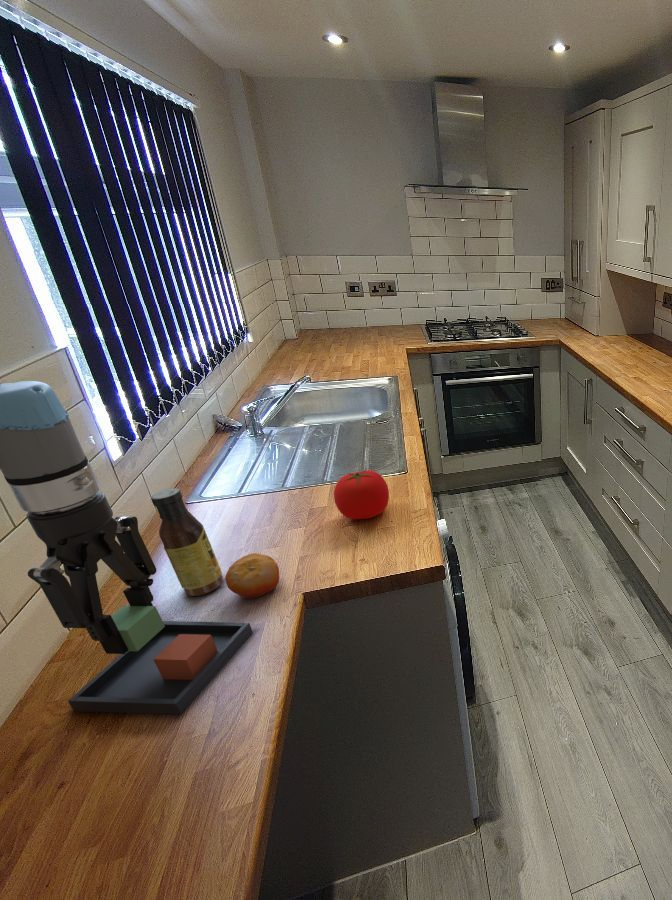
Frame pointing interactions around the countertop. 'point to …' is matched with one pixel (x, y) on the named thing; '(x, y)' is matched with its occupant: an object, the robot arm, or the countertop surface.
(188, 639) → the reddish brown block
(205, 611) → the countertop surface
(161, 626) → the green block
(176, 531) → the sauce bottle
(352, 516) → the tomato
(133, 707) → the tray
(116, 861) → the countertop surface
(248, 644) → the countertop surface
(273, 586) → the fruit
